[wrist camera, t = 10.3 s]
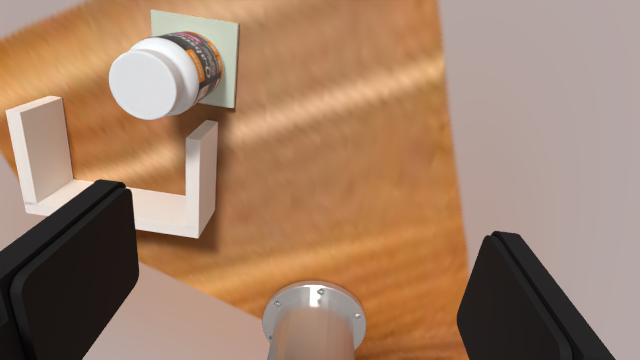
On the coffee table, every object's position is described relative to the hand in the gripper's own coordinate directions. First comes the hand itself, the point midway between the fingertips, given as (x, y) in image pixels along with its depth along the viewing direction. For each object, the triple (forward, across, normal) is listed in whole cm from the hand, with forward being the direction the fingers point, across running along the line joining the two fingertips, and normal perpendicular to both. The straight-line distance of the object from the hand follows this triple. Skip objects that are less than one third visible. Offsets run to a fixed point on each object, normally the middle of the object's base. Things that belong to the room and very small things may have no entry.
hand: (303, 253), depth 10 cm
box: (+28, +18, +11) cm, 35 cm away
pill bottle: (+27, +12, 0) cm, 30 cm away
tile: (+28, +12, 0) cm, 30 cm away
